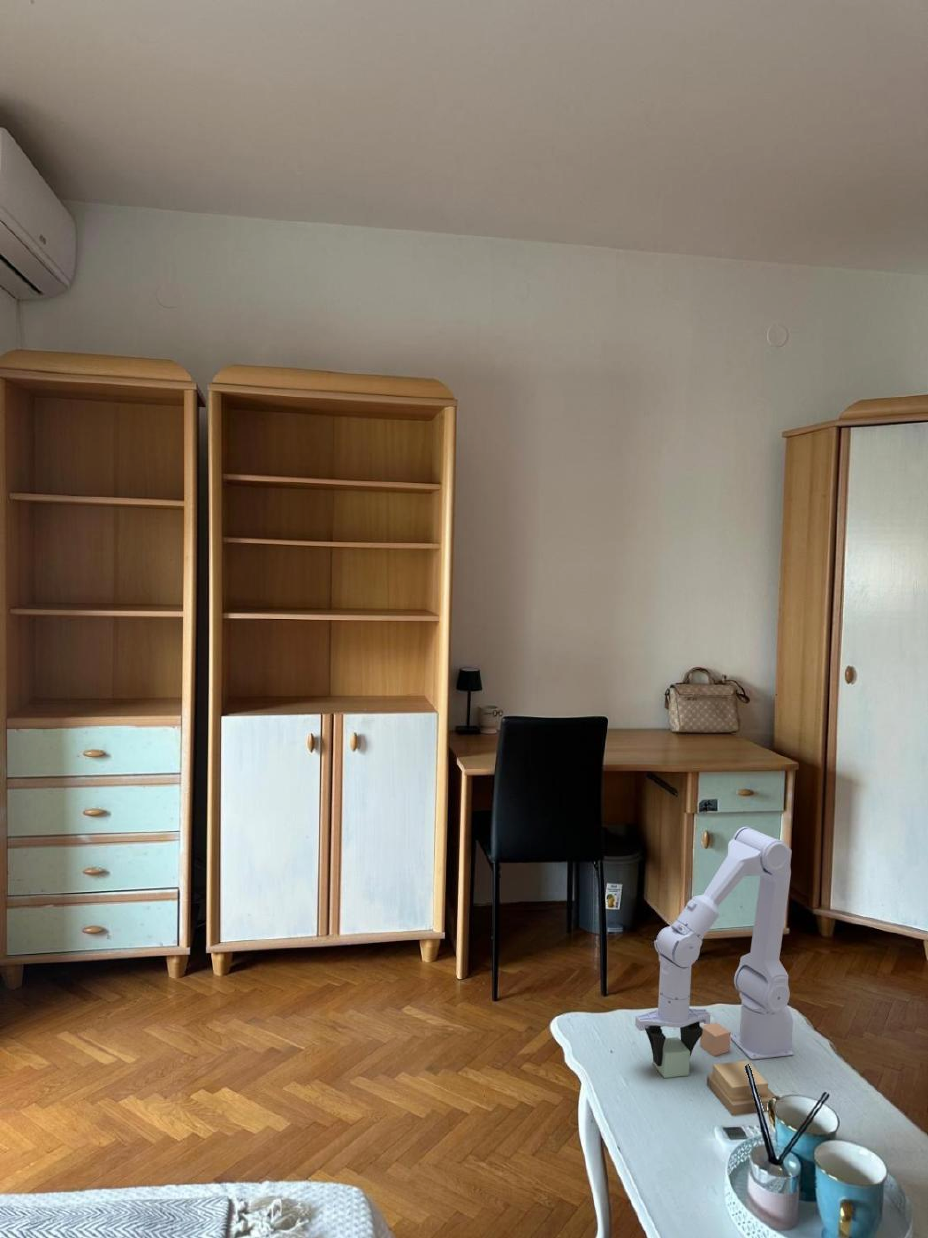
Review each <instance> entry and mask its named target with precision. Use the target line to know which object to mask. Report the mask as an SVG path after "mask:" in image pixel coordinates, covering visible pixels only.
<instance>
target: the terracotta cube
mask: <svg viewBox="0 0 928 1238" xmlns="http://www.w3.org/2000/svg"><path fill="white" fill-rule="evenodd" d="M700 1027H701V1028H702V1029H703V1033H702V1036H701V1037H700V1038H699V1040H700V1041H699V1042H700V1043H699V1047H700V1048H703V1050H705V1051H707V1052H708V1053H710V1054H711V1055H712V1056H713V1057H717V1056H720V1055H722V1054H723V1055H724V1054H725V1053H729V1052H730V1051H731V1050H730V1049H731V1047H730V1045H731V1031H730V1030H728V1029H727V1028H726V1027H724V1026H722V1025H721V1024H720V1023H718V1022H716V1021H715V1022H710V1024H704V1025H700Z"/></svg>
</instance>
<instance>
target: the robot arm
mask: <svg viewBox="0 0 928 1238" xmlns="http://www.w3.org/2000/svg"><path fill="white" fill-rule="evenodd" d="M792 852H793V851H792V849H791V848H790V847H789V846H788V844H786V843H785V842H784V841H783V840H781V839H778V838H774V837H772V836H770V835H768V834H765V833H762V832H760V831H757V830H755V829H754V828H753V827H750V826H742V827H740V828H739V829H737V831H736V832H735V833H734V834H733V836H732V839H731V840H730V841H729V842H728V844H727V856H726V857H725V859H724V860H723V862H722V863H721V865H720V867H719V868H718V870H717V871H716V873H715V875H714V876H713V878H712V879H711V881H710V882H709V884H708V885H707V887H706V889H705V891H704V892H703V894H700V895H694V896H692V897H691V899H689V901H688V902H687V903H686V905H685V906H684V908H683V909H682V911H681V912H680V913H679V915H678V916H677V917H676V919H675V920H674V922H673V923H672V924H671V925H670V926H666V927H664V928H662V929H661V930H660V931H659V932H658V935H657V936H656V940H654V941H653V943H654V949H655V950H656V952H657V953H658V961H659V980H658V1001H657V1003H658V1005H657V1007H658V1008H657V1009H654V1010H651V1011H649V1012H645V1013H644V1014H640V1015H639V1014H637V1015H635V1021H634V1025H635V1027H636V1028H637V1029H638V1031H645V1033H646V1036H647V1038H648V1040H649V1044H650V1049H651V1052H652V1053H651V1054H652V1062H653V1061H654V1062H655V1063H656V1064H657V1066H661V1065H662V1054H663V1046H664V1042H665V1039H666V1038H667V1037H666V1035H665V1034H664V1033H663V1029H662V1027H667V1028H669V1027H670V1028H679V1030H680V1031H679V1033H680V1040H681V1042H682V1043H683V1044H684V1045H685V1046H686V1047H687V1049H688V1050H689V1051H690V1057H691V1055H692V1053H693V1051H694V1048H695V1046H696V1044H697V1042H698V1041H699V1040H700V1037H701V1036H702V1033H703V1029H702V1028H701V1025H700V1024H701V1023H702V1024H704V1025H708V1024H711V1013H710V1012H709V1011H708V1010H707V1009H706V1008H703V1009H701V1008H700V1009H698V1008H690V1006H691V1005H690V1003H691V1000H690V998H691V984H692V983H691V981H692V980H691V979H692V965H693V964H694V963H695V962H696V961H697V960H698V959H699V956H700V952H701V951H700V950H701V946H702V945H703V939H704V938H705V936H706V935H707V933H708V932H709V931H710V930H711V928H712V927H713V926H714V924H715V923H716V921H717V920H718V918H719V917H720V916H719V906H720V905H721V904H722V902H723V901H724V900H725V899H726V898H727V897H728V895H730V893H731V892H732V891H733V890H734V889H735V888H736V887H737V885H738V884H739V883H741V881H742V879H744V877H749V876H750V877H753V876H754V877H755V876H760V877H759V878H760V880H759V886H758V892H757V893H758V894H757V902H756V908H755V916H754V923H753V930H752V938H751V945H750V952H749V953H746V954H745V955H742V956H740V961H739V965H738V967H737V969H736V971H735V973H734V977H733V983H734V987H735V989H736V990H737V991H738V992H739V994H738V995H739V998H740V999H741V1003H740V1004H741V1005H740V1022H739V1025H740V1026H739V1034H730V1040H732V1041H733V1043H735V1045H736V1046H737V1047H739V1048H740V1050H741V1051H742V1052H743V1053H744V1054H745V1055H746V1056H747V1057H748V1058H749V1059H750V1060H759V1059H770V1058H776V1057H778V1058H779V1057H786V1056H787V1057H788V1056H794V1051H793V1050H792V1042H793V1039H792V1038H793V1023H794V1022H793V1016H792V1012H791V1010H790V1007H789V1006H788V1005H787V1004H788V1003H789V1001H790V995H791V993H790V987H789V974H788V972H787V971H786V968H784V966H783V964H782V962H781V961H780V954H781V949H782V940H783V933H784V927H785V926H784V925H785V920H786V912H787V911H786V910H787V906H788V897H789V890H790V884H791V883H790V882H791V875H792V870H791V861H792V860H791V859H792Z"/></svg>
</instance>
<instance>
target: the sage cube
mask: <svg viewBox="0 0 928 1238" xmlns="http://www.w3.org/2000/svg"><path fill="white" fill-rule="evenodd" d="M690 1060H691V1056H690V1051H689V1050H688V1049H687V1047H686V1046H685V1045H684V1044H683V1043H682V1042H681V1038H680V1037H679V1036H677V1037H675V1036H674V1037H666V1039H665V1042H664V1046H663V1054H662V1065H661V1066H657V1064H656V1063H655V1062H654V1061H653V1060H652V1064H653V1065H654V1066H655V1067H656V1069H657V1071H659V1073H660V1074H661V1075H662V1077H663V1079H666V1078H667V1079H669V1078H676V1077H683V1076H685V1077H686V1076H689V1075H690Z"/></svg>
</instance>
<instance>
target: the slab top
mask: <svg viewBox="0 0 928 1238" xmlns="http://www.w3.org/2000/svg"><path fill="white" fill-rule="evenodd" d="M747 1064H749V1066H750V1068H751V1070H752V1074H753V1077H754V1080H755V1083H756V1086H757V1091H758V1093H759V1096H760V1097H765V1096H767V1095H768V1088H769V1083H768V1081H767V1080H766V1079H765V1078H764V1077H763V1076H762V1075H761V1074H760V1073H759V1072H758V1071H757V1070H756V1068H755V1067H754V1066H753V1065H752V1064H751V1063H750V1061H748V1060H739V1061H732V1062H731V1061H730V1062H723V1063H721V1062H720V1063H712V1068H711V1069H712V1077H713V1079H714V1080H715V1081H716V1082H717V1083H718V1085H719V1086H720V1087H721V1088H722V1089H723V1091H724V1092H725V1093H726V1094H727V1095H728V1097H729V1098H730V1099H731V1100H740V1099H748V1098H753V1095H752V1091H751V1088H750V1085H749V1078H748V1075H747V1073H746V1070H745V1066H746V1065H747Z"/></svg>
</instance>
